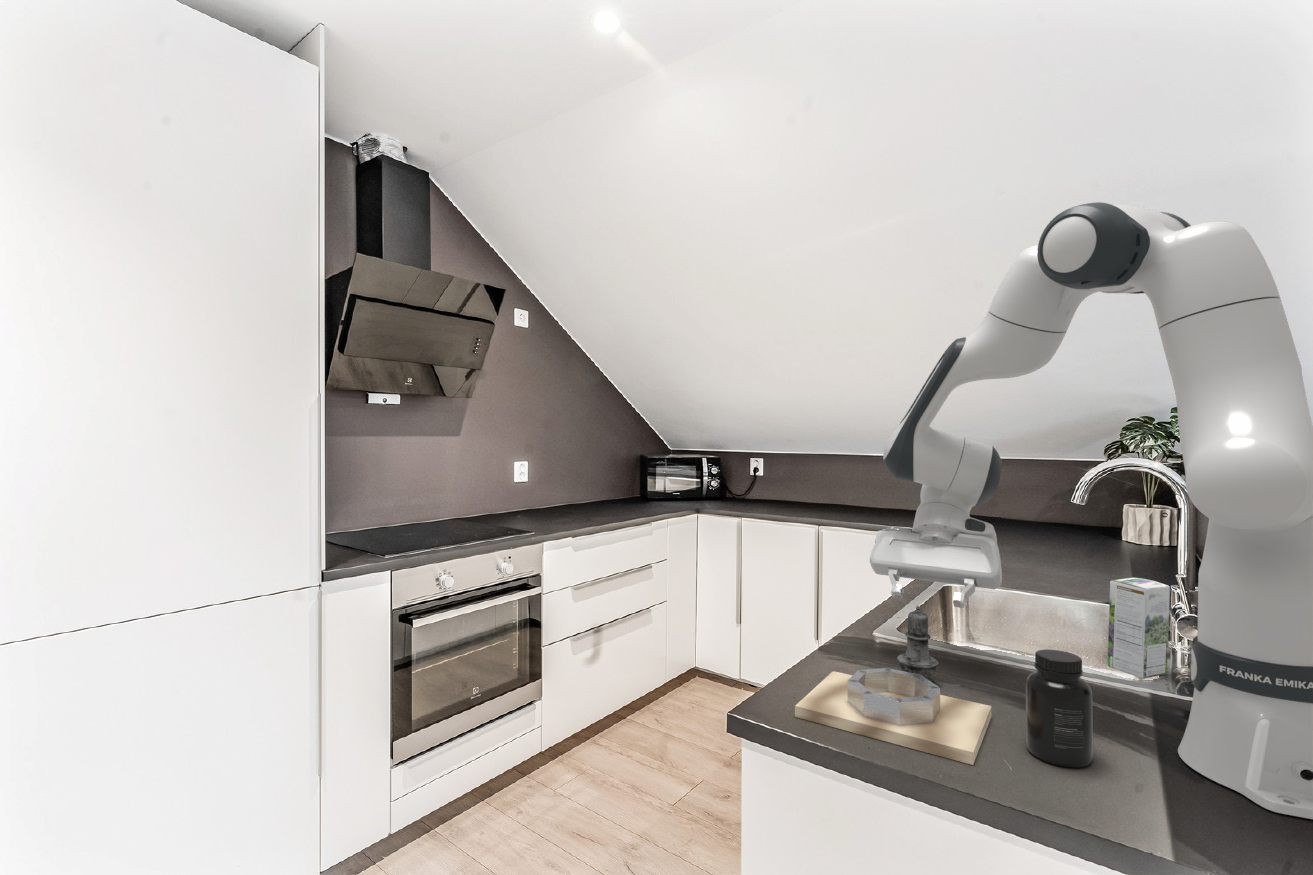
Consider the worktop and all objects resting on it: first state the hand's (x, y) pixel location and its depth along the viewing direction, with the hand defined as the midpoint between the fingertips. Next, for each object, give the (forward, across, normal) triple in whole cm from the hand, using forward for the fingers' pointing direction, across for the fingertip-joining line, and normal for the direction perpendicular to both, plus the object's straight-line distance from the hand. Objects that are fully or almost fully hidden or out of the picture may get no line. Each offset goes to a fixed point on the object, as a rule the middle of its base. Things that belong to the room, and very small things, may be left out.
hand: (926, 600), depth 104 cm
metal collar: (+21, 0, -7) cm, 22 cm away
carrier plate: (+22, 0, -6) cm, 23 cm away
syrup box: (-5, +28, +22) cm, 36 cm away
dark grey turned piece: (+12, 0, +4) cm, 13 cm away
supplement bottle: (+22, +19, -5) cm, 29 cm away
